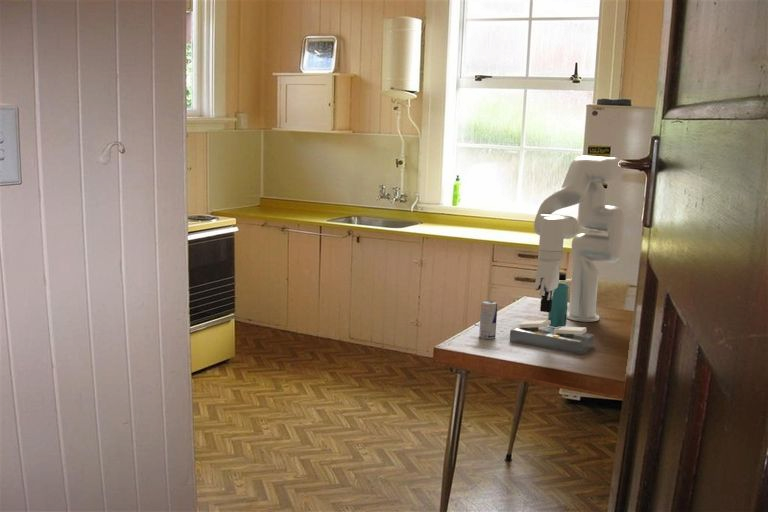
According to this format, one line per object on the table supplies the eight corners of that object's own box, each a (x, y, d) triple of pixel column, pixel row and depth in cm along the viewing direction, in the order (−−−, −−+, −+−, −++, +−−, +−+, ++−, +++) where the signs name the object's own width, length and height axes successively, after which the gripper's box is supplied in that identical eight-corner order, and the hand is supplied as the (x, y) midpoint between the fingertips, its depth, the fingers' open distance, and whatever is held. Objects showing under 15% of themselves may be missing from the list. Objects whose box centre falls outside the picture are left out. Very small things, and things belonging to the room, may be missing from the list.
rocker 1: (525, 324, 265) (524, 321, 265) (550, 323, 260) (550, 320, 260) (519, 327, 260) (519, 324, 260) (545, 326, 256) (544, 323, 256)
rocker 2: (559, 329, 258) (559, 326, 258) (586, 331, 254) (586, 327, 254) (554, 333, 254) (554, 329, 254) (581, 334, 250) (581, 330, 249)
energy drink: (497, 336, 264) (500, 301, 262) (491, 340, 260) (493, 304, 257) (483, 334, 267) (485, 299, 265) (476, 337, 262) (478, 302, 260)
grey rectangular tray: (523, 333, 269) (524, 319, 268) (592, 346, 257) (594, 331, 256) (509, 341, 259) (510, 327, 258) (581, 355, 247) (582, 340, 246)
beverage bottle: (566, 332, 273) (570, 275, 269) (546, 330, 274) (550, 274, 271) (565, 327, 279) (570, 272, 276) (546, 326, 280) (550, 270, 277)
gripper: (547, 251, 262) (542, 305, 265) (530, 256, 250) (526, 313, 253) (569, 254, 258) (564, 309, 261) (553, 259, 246) (548, 317, 249)
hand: (545, 311), depth 257 cm, fingers closed
